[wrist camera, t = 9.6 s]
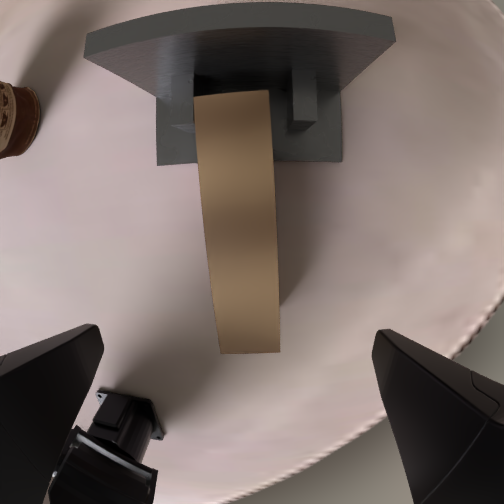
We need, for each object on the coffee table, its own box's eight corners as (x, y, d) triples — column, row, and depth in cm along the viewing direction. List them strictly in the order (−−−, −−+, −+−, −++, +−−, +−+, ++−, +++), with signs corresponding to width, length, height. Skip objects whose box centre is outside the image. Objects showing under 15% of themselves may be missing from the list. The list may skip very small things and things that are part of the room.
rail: (277, 310, 21) (280, 352, 16) (229, 312, 21) (220, 353, 17) (267, 106, 17) (268, 90, 12) (211, 111, 17) (193, 97, 12)
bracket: (340, 162, 18) (404, 162, 9) (159, 165, 19) (79, 170, 10) (337, 76, 16) (391, 16, 7) (158, 82, 17) (86, 34, 8)
